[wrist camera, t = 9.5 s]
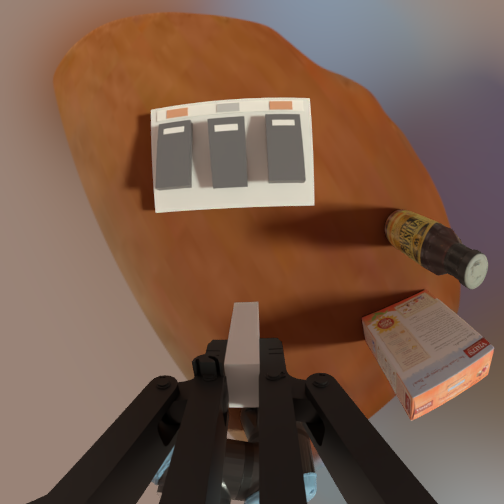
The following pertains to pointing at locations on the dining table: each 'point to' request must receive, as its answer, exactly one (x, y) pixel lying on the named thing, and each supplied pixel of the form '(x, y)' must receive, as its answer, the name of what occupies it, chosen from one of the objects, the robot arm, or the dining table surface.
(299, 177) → the switch
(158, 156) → the switch
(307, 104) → the switch panel
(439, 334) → the cracker box
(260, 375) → the robot arm
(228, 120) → the switch middle
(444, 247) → the sauce bottle
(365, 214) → the dining table surface
